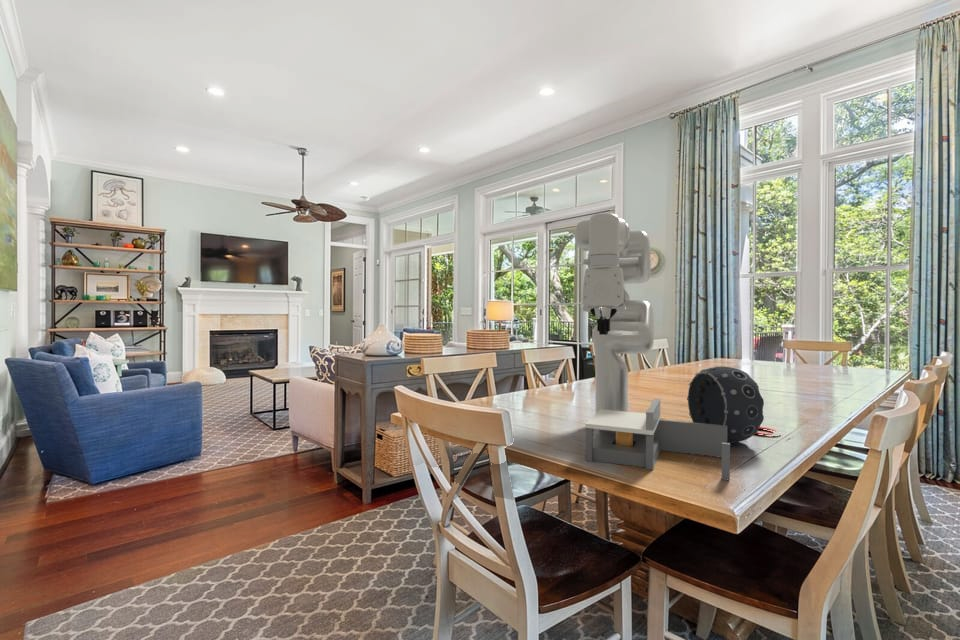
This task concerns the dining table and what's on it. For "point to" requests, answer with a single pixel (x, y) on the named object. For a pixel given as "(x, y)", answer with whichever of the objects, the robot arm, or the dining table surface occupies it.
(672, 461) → the dining table surface
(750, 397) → the studded black wheel
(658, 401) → the lid
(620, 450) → the housing
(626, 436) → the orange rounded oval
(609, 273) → the robot arm
